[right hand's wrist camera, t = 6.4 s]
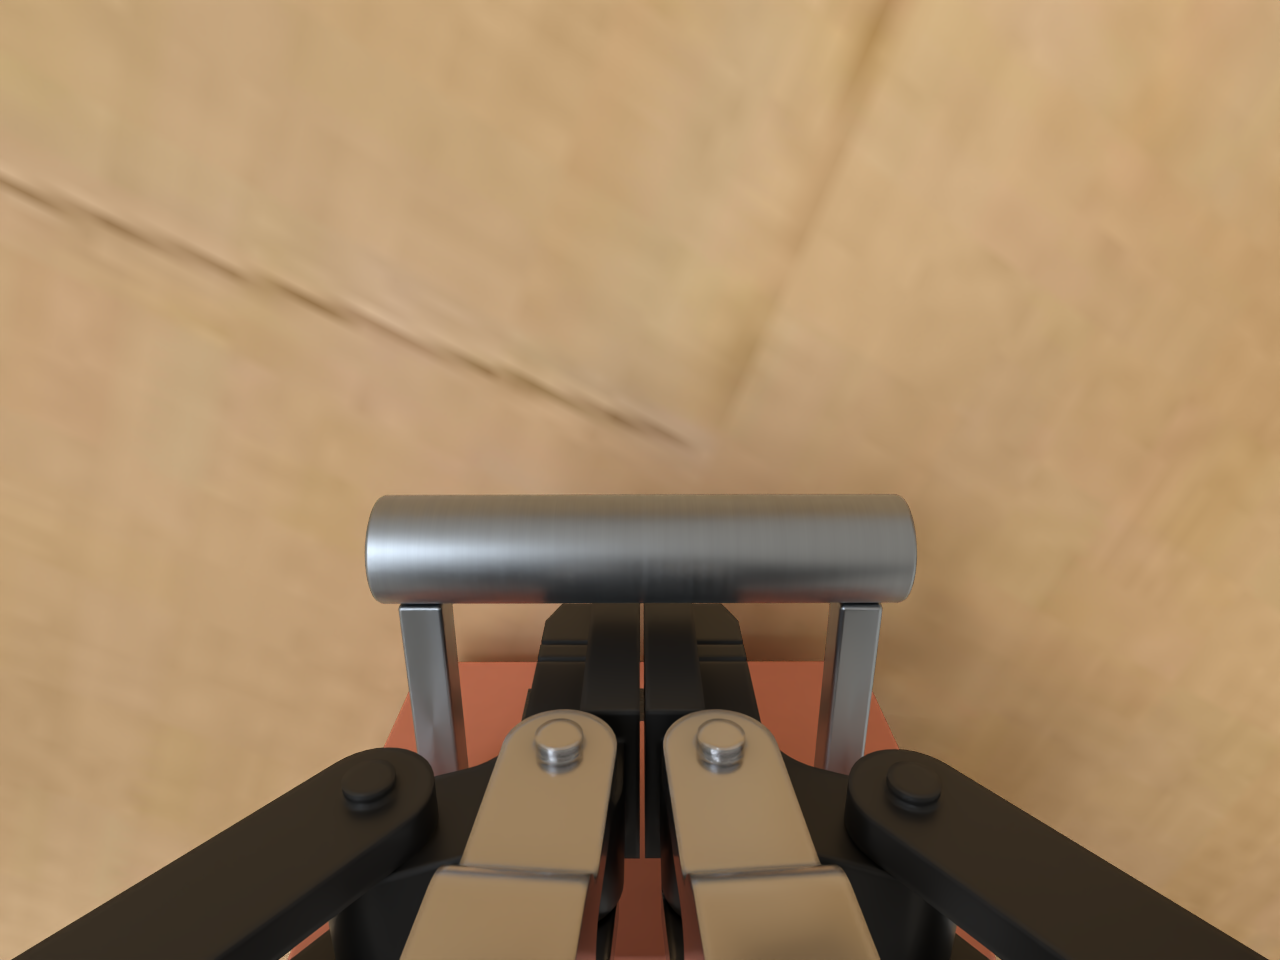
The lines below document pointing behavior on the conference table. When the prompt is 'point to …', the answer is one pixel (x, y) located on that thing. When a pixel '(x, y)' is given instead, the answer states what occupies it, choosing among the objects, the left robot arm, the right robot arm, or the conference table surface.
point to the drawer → (641, 573)
